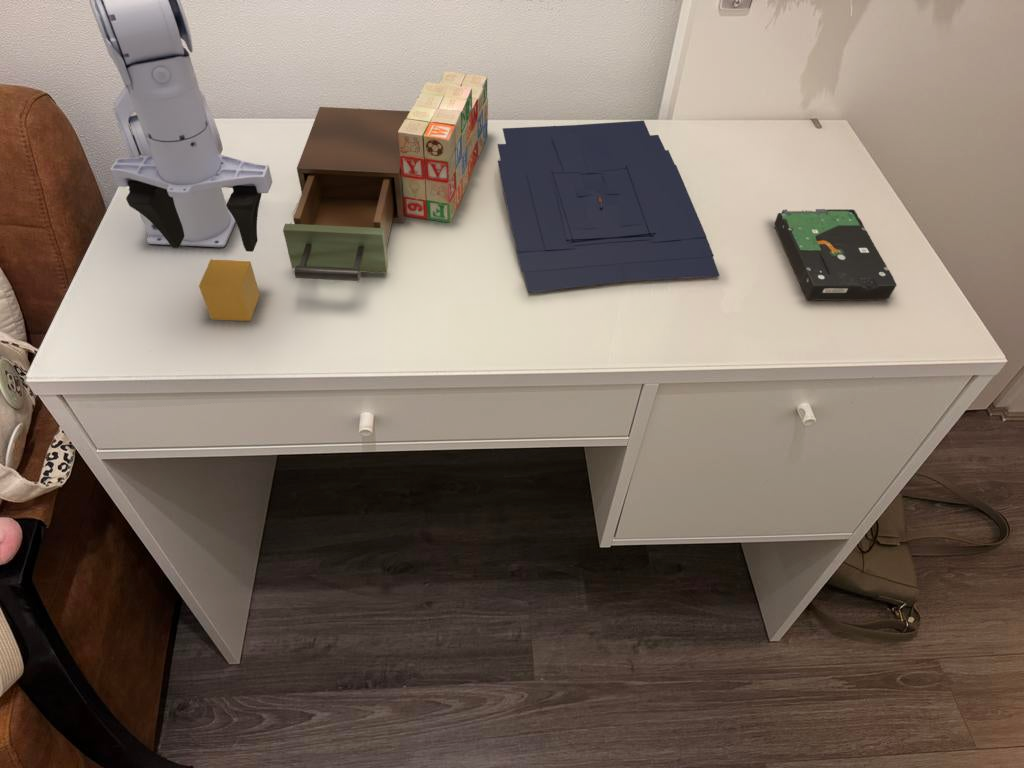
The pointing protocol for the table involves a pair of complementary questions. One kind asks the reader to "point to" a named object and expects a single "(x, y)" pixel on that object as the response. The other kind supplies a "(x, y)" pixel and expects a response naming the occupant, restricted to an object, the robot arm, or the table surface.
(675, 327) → the table surface
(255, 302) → the block
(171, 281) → the table surface
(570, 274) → the navy folded towel
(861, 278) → the disk drive
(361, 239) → the drawer
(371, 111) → the cabinet
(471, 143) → the stack of blocks
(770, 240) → the table surface
